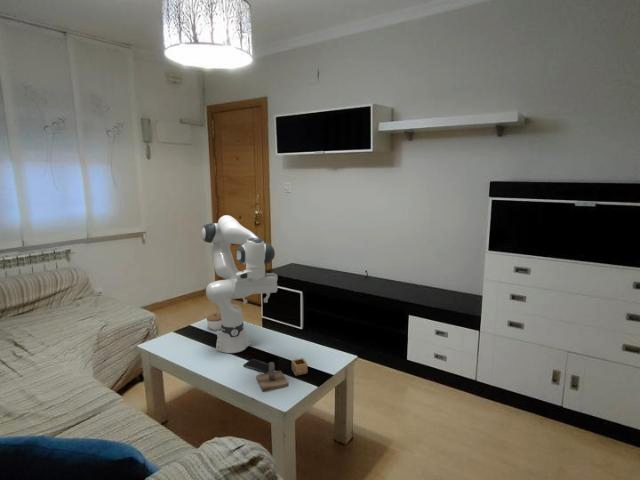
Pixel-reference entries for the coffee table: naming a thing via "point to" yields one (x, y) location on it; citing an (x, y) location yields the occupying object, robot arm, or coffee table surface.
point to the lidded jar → (214, 321)
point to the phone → (257, 366)
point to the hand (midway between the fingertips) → (255, 303)
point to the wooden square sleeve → (299, 366)
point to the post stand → (271, 379)
